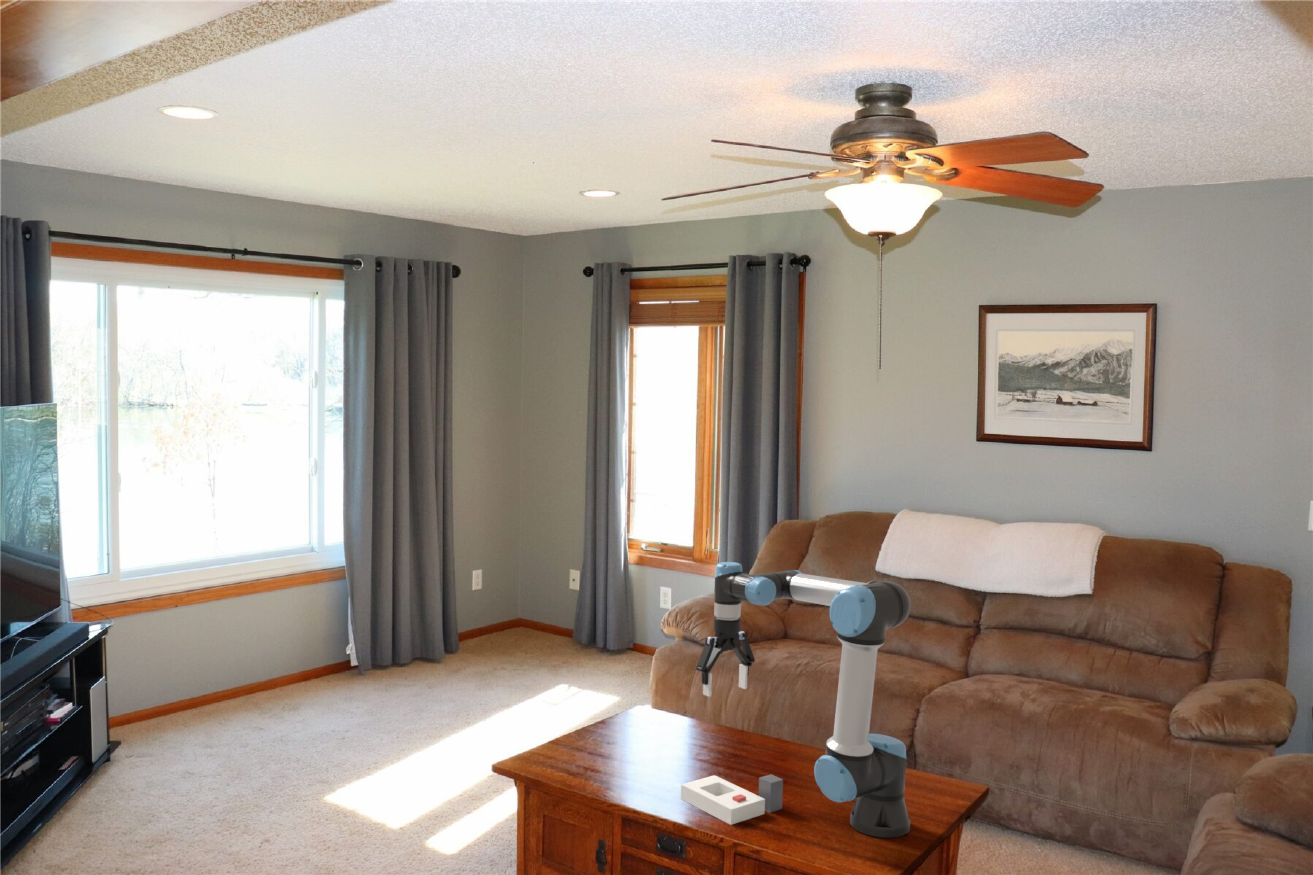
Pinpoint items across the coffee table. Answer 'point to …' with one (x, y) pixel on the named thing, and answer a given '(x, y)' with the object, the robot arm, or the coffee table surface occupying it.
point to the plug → (771, 792)
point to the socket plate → (723, 799)
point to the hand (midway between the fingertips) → (725, 691)
